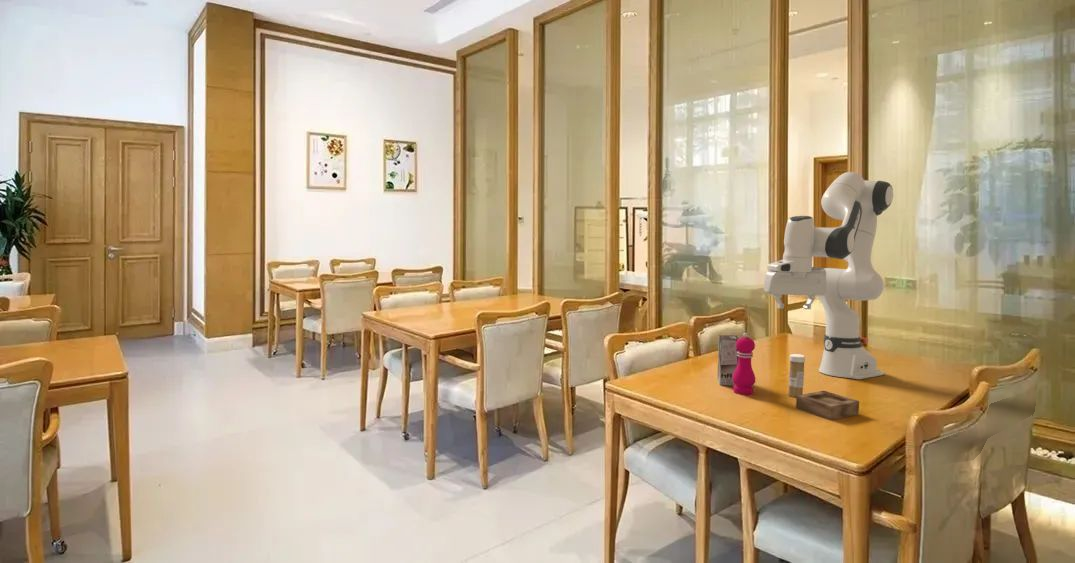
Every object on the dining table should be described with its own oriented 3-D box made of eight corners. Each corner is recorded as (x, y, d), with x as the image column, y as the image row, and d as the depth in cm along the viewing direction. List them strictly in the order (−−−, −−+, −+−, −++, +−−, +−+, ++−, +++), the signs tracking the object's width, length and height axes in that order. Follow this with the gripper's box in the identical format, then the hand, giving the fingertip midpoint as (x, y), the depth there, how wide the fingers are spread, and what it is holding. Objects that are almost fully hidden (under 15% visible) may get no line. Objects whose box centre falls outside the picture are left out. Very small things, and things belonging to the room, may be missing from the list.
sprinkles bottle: (785, 394, 197) (787, 353, 196) (797, 393, 198) (799, 353, 196) (793, 398, 192) (795, 357, 191) (806, 397, 193) (808, 356, 192)
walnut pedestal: (823, 403, 187) (823, 390, 187) (858, 414, 177) (859, 401, 176) (795, 408, 182) (796, 395, 182) (830, 420, 171) (831, 406, 171)
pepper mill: (728, 389, 202) (730, 330, 200) (749, 388, 203) (751, 330, 201) (737, 395, 195) (739, 334, 193) (758, 395, 196) (761, 334, 194)
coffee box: (738, 386, 206) (740, 340, 204) (719, 385, 207) (721, 339, 205) (735, 379, 215) (737, 335, 213) (716, 378, 216) (718, 334, 214)
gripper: (820, 266, 198) (817, 308, 199) (762, 264, 195) (759, 306, 196) (832, 267, 192) (829, 310, 193) (773, 265, 189) (770, 309, 190)
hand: (793, 308), depth 195 cm, fingers open, 8 cm apart
